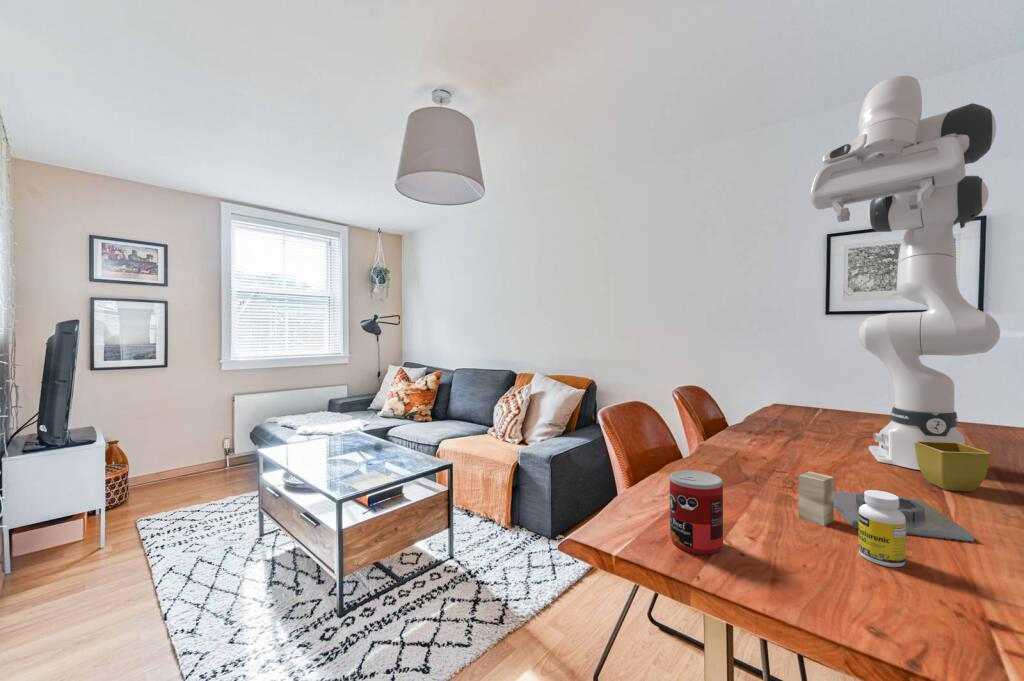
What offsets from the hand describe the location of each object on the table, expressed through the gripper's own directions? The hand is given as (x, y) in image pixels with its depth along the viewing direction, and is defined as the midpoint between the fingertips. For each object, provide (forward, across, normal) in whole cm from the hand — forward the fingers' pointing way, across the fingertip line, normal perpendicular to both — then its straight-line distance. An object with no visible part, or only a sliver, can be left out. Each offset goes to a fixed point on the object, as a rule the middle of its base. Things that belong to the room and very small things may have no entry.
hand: (877, 213), depth 73 cm
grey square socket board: (+43, 0, -35) cm, 55 cm away
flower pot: (+29, -6, -60) cm, 67 cm away
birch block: (+48, +9, -25) cm, 55 cm away
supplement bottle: (+53, -2, -17) cm, 55 cm away
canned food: (+60, +19, -3) cm, 63 cm away
